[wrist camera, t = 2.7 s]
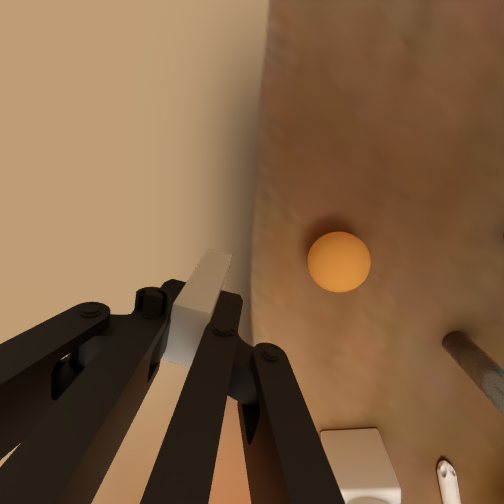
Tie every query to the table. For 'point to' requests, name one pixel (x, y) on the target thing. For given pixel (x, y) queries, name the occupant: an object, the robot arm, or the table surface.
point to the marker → (448, 483)
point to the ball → (338, 261)
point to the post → (477, 366)
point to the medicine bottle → (361, 466)
